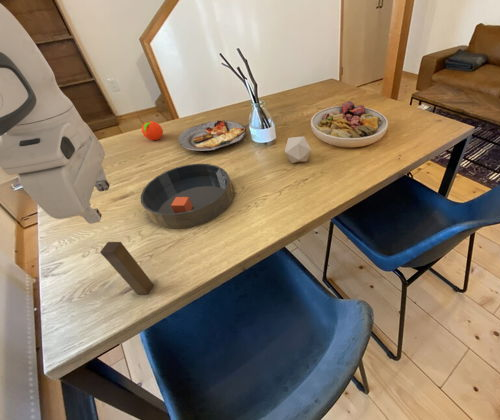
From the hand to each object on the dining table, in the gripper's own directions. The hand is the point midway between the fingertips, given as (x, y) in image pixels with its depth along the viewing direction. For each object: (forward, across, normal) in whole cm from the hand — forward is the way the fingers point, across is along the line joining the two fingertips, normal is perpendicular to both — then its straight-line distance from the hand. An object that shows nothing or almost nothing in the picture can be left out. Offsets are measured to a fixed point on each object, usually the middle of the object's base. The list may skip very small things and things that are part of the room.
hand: (100, 203), depth 49 cm
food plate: (+19, -57, +21) cm, 64 cm away
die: (+19, -30, +46) cm, 58 cm away
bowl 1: (+19, -22, +11) cm, 31 cm away
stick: (+20, +6, 0) cm, 20 cm away
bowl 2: (+19, -41, +72) cm, 85 cm away
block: (+18, -16, +9) cm, 26 cm away
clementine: (+19, -66, 0) cm, 69 cm away
